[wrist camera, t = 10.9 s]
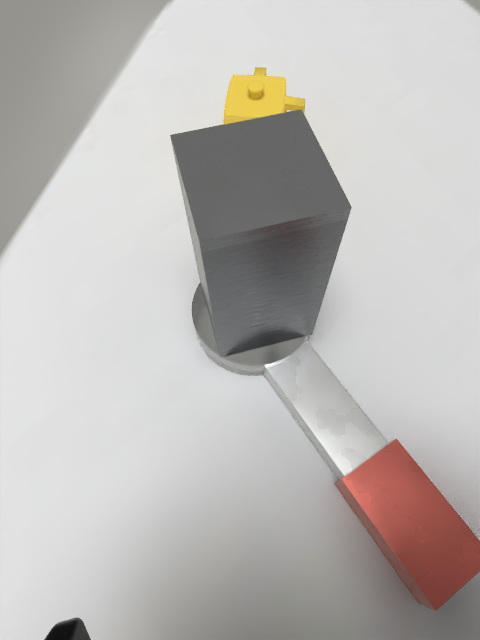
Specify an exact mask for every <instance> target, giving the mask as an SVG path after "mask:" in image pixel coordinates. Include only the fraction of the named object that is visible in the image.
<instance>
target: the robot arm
mask: <svg viewBox="0 0 480 640" xmlns="http://www.w3.org/2000/svg"><path fill="white" fill-rule="evenodd" d="M44 640H91V639H90V637H89V634H88V632H87V630H86V627H85V625H84V623H83V621H82V620H81V619H80V618H73V619H69V620H66V621H62V622H59V623H57V624H56V625H55V626H54V627H53V628H52V629H51V631H50V632H49V634H48V635H47V637H46V638H45V639H44Z"/></svg>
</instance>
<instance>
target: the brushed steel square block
mask: <svg viewBox="0 0 480 640" xmlns="http://www.w3.org/2000/svg"><path fill="white" fill-rule="evenodd" d="M170 136H171V141H172V146H173V151H174V156H175V161H176V165H177V170H178V175H179V180H180V185H181V190H182V195H183V200H184V205H185V209H186V214H187V219H188V224H189V229H190V234H191V239H192V244H193V249H194V253H195V258H196V263H197V268H198V273H199V278H200V282H201V286H202V290H203V294H204V297H205V301H206V305H207V309H208V313H209V317H210V321H211V325H212V328H213V332H214V336H215V340H216V344H217V348H218V352H219V355H220V358H222V357H225V356H229V355H233V354H237V353H241V352H245V351H249V350H253V349H257V348H261V347H265V346H269V345H273V344H277V343H281V342H285V341H289V340H293V339H297V338H301V337H304V336H308V335H312V333H313V329H314V326H315V323H316V320H317V317H318V313H319V310H320V307H321V304H322V301H323V297H324V294H325V291H326V288H327V285H328V281H329V278H330V275H331V272H332V268H333V265H334V262H335V259H336V256H337V252H338V249H339V246H340V243H341V240H342V236H343V233H344V230H345V227H346V224H347V220H348V217H349V214H350V211H351V208H352V207H351V205H350V203H349V201H348V199H347V197H346V195H345V193H344V191H343V189H342V188H341V186H340V184H339V182H338V180H337V178H336V176H335V174H334V172H333V170H332V168H331V166H330V164H329V162H328V160H327V158H326V156H325V154H324V152H323V150H322V148H321V147H320V145H319V143H318V141H317V139H316V137H315V135H314V133H313V131H312V129H311V127H310V125H309V123H308V121H307V119H306V117H305V115H304V113H303V111H302V109H300V110H295V111H290V112H285V113H280V114H275V115H270V116H265V117H260V118H255V119H249V120H244V121H239V122H234V123H229V124H224V125H219V126H214V127H209V128H204V129H199V130H194V131H189V132H184V133H178V134H173V135H170Z"/></svg>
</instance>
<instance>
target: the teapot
mask: <svg viewBox="0 0 480 640" xmlns="http://www.w3.org/2000/svg"><path fill="white" fill-rule="evenodd" d="M300 109H302V111H303V113H304V111H305V99H302V98H295V97H289V96H286V80H285V78H284V77H275V76H266V68H257V67H255V72H254V75H233V76H232V78H231V81H230V84H229V88H228V92H227V97H226V103H225V110H224V124H229V123H234V122H239V121H244V120H249V119H255V118H260V117H265V116H270V115H275V114H280V113H285V112H286V110H300Z"/></svg>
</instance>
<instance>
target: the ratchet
mask: <svg viewBox="0 0 480 640" xmlns="http://www.w3.org/2000/svg"><path fill="white" fill-rule="evenodd" d="M192 317H193V322H194V326H195V329H196V333H197V336H198V339H199V342H200V344H201V346H202V348H203V350H204V351H205V353H206V354H207V355H208V356H209V357H210V358H211V359H212V360H213V361H214V362H215V363H216V364H218V365H219V366H221V367H222V368H224V369H226V370H228V371H231V372H233V373H237V374H241V375H254V376H257V375H264V376H265V377H266V379H267V380H268V382H269V383H270V384H271V386H272V387H273V389H274V390H275V392H276V393H277V394H278V396H279V397H280V399H281V400H282V401H283V403H284V404H285V406H286V407H287V408H288V410H289V411H290V413H291V414H292V415H293V417H294V418H295V420H296V421H297V422H298V424H299V425H300V427H301V428H302V429H303V431H304V432H305V434H306V435H307V436H308V438H309V439H310V441H311V442H312V443H313V445H314V446H315V448H316V449H317V450H318V452H319V453H320V455H321V456H322V457H323V459H324V460H325V462H326V463H327V464H328V466H329V467H330V469H331V470H332V471H333V473H334V474H335V476H336V477H337V478H338V481H337V482H336V483H334V484H335V485H336V487H337V488H338V490H339V491H340V493H341V494H342V495H343V497H344V498H345V500H346V501H347V502H348V504H349V505H350V507H351V508H352V509H353V511H354V512H355V514H356V515H357V517H358V518H359V519H360V521H361V522H362V524H363V525H364V526H365V528H366V529H367V531H368V532H369V534H370V535H371V536H372V538H373V539H374V541H375V542H376V543H377V545H378V546H379V548H380V549H381V551H382V552H383V553H384V555H385V556H386V558H387V559H388V560H389V562H390V563H391V565H392V566H393V568H394V569H395V570H396V572H397V573H398V575H399V576H400V577H401V579H402V580H403V582H404V583H405V584H406V586H407V587H408V589H409V590H410V592H411V593H412V594H413V596H414V597H415V599H416V600H417V601H418V603H420V604H422V605H425V606H427V607H429V608H431V609H434V610H437V609H438V608H439V607H440V606H441V605H443V604H444V603H445V602H446V601H447V600H448V599H449V598H450V597H451V596H453V595H454V594H455V593H456V592H457V591H458V590H459V589H460V588H461V587H463V586H464V585H465V584H466V583H467V582H468V581H469V580H470V579H471V578H473V577H474V576H475V575H476V574H477V573H478V572H479V571H480V541H479V540H478V538H477V537H476V536H475V535H474V533H473V532H472V531H471V530H470V529H469V527H468V526H467V525H466V524H465V522H464V521H463V520H462V519H461V517H460V516H459V515H458V514H457V513H456V511H455V510H454V509H453V508H452V506H451V505H450V504H449V503H448V501H447V500H446V499H445V498H444V497H443V495H442V494H441V493H440V492H439V490H438V489H437V488H436V487H435V485H434V484H433V483H432V482H431V481H430V479H429V478H428V477H427V476H426V474H425V473H424V472H423V471H422V469H421V468H420V467H419V466H418V465H417V463H416V462H415V461H414V460H413V458H412V457H411V456H410V455H409V453H408V452H407V451H406V450H405V449H404V447H403V446H402V445H401V444H400V442H399V441H398V440H397V439H395V440H393V441H392V442H390V443H388V441H387V440H386V439H385V438H384V436H383V435H382V434H381V433H380V431H379V430H378V429H377V428H376V426H375V425H374V424H373V423H372V421H371V420H370V419H369V418H368V416H367V415H366V414H365V413H364V411H363V410H362V409H361V408H360V406H359V405H358V404H357V403H356V401H355V400H354V399H353V398H352V396H351V395H350V394H349V393H348V391H347V390H346V389H345V388H344V386H343V385H342V384H341V383H340V381H339V380H338V379H337V378H336V376H335V375H334V374H333V373H332V371H331V370H330V369H329V368H328V366H327V365H326V364H325V363H324V361H323V360H322V359H321V358H320V356H319V355H318V354H317V353H316V351H315V350H314V349H313V348H312V346H311V345H310V344H309V343H308V341H307V339H308V336H309V335H308V336H304V337H301V338H297V339H293V340H289V341H285V342H281V343H277V344H273V345H269V346H265V347H261V348H257V349H253V350H249V351H245V352H241V353H237V354H233V355H229V356H225V357H222V358H220V355H219V352H218V348H217V344H216V340H215V336H214V332H213V328H212V325H211V321H210V317H209V313H208V309H207V305H206V301H205V297H204V294H203V290H202V286H201V282H200V284H199V286H198V287H197V289H196V292H195V294H194V298H193V302H192Z"/></svg>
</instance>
